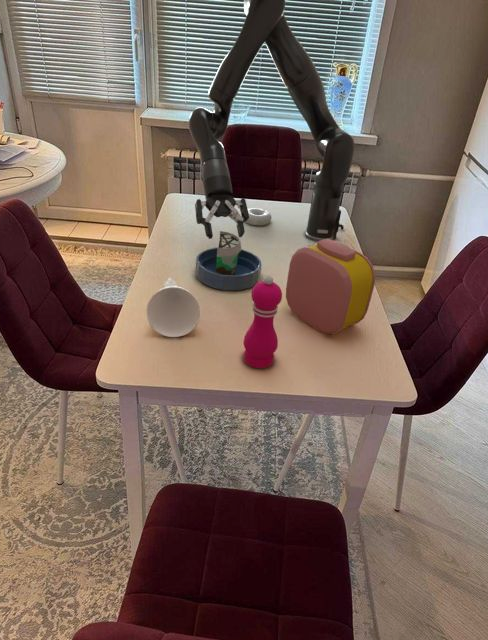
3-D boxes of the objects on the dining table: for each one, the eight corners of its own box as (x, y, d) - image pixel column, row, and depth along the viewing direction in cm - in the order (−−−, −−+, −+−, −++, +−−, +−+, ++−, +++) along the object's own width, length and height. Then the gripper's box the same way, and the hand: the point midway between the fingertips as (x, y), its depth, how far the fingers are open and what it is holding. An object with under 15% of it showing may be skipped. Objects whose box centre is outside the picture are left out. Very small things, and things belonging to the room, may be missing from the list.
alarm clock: (364, 330, 119) (384, 256, 108) (335, 344, 113) (353, 268, 102) (309, 297, 130) (322, 227, 119) (279, 309, 123) (289, 236, 112)
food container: (238, 286, 131) (241, 251, 125) (215, 284, 130) (217, 249, 125) (239, 265, 141) (242, 232, 135) (218, 263, 140) (220, 230, 135)
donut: (265, 216, 176) (238, 216, 173) (266, 206, 174) (239, 206, 171) (274, 226, 168) (247, 227, 165) (276, 217, 166) (248, 217, 163)
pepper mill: (273, 350, 109) (286, 268, 97) (276, 370, 103) (289, 286, 91) (241, 348, 108) (249, 266, 97) (242, 369, 102) (251, 283, 91)
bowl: (247, 259, 145) (248, 245, 142) (269, 288, 132) (270, 273, 129) (189, 263, 140) (189, 249, 137) (205, 294, 126) (206, 278, 124)
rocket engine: (170, 256, 120) (170, 276, 104) (205, 287, 125) (211, 310, 108) (140, 290, 123) (135, 315, 106) (175, 319, 127) (176, 347, 111)
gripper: (193, 173, 129) (203, 232, 127) (245, 173, 133) (255, 230, 131) (188, 187, 136) (197, 243, 134) (237, 186, 140) (247, 241, 138)
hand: (226, 237), depth 132 cm, fingers open, 8 cm apart
